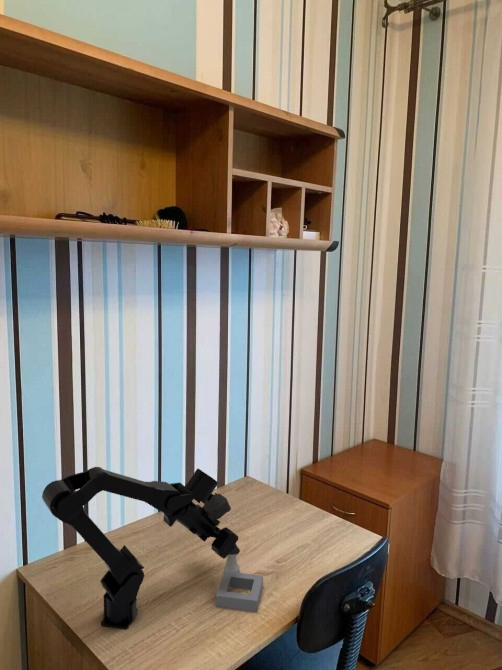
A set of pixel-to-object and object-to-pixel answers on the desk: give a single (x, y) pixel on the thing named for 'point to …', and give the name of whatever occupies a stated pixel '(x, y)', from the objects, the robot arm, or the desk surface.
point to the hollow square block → (238, 599)
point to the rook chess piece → (231, 564)
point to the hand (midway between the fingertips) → (228, 544)
